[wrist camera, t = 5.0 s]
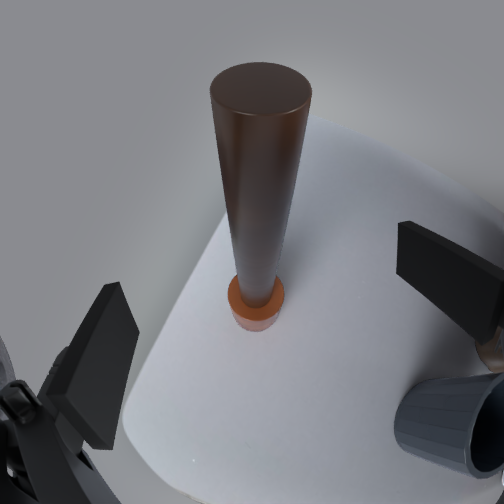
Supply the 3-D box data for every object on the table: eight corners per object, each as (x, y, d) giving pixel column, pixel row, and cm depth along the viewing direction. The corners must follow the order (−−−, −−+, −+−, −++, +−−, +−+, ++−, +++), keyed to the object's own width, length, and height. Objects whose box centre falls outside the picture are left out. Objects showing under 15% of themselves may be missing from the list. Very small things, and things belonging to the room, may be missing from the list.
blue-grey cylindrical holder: (399, 467, 21) (465, 499, 10) (386, 398, 24) (459, 404, 13) (460, 431, 21) (532, 438, 10) (449, 366, 25) (525, 352, 14)
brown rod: (238, 336, 27) (171, 169, 5) (228, 293, 29) (166, 60, 7) (283, 325, 27) (387, 138, 5) (272, 283, 29) (313, 44, 7)
